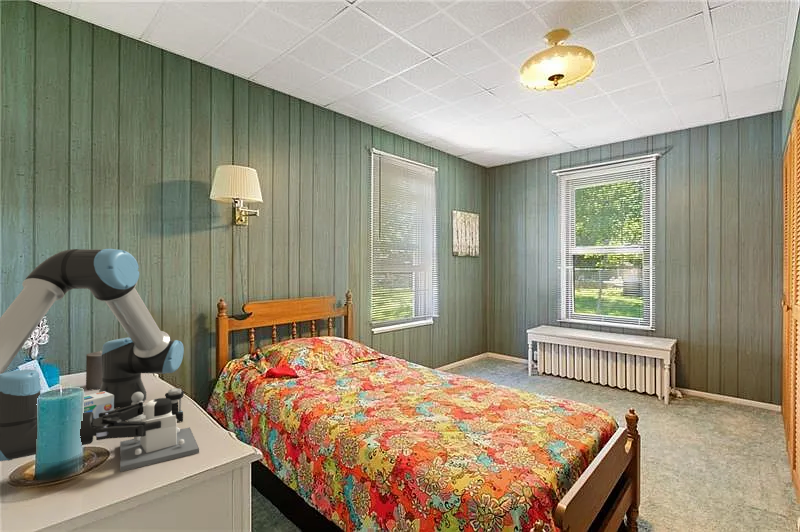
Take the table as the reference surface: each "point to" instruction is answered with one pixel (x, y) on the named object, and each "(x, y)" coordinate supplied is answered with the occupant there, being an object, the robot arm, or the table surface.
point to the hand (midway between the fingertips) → (173, 412)
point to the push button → (176, 402)
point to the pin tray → (137, 457)
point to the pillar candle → (94, 370)
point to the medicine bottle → (161, 436)
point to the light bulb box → (98, 403)
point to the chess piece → (136, 399)
